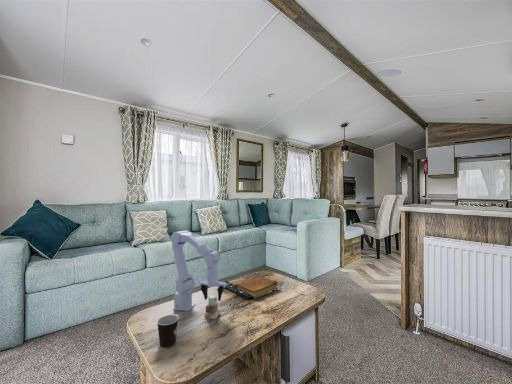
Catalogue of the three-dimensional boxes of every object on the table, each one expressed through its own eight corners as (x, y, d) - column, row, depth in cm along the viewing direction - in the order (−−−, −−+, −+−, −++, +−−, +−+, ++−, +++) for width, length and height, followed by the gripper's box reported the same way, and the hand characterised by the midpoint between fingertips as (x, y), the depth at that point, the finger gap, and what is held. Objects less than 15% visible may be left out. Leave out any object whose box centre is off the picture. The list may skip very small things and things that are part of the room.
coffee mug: (165, 351, 97) (165, 327, 97) (152, 345, 102) (152, 321, 102) (187, 337, 107) (187, 315, 107) (174, 332, 112) (175, 310, 112)
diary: (258, 283, 176) (258, 275, 176) (278, 290, 163) (278, 281, 163) (235, 292, 160) (235, 283, 160) (254, 300, 146) (254, 291, 147)
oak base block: (204, 318, 125) (204, 312, 125) (209, 313, 131) (209, 307, 131) (215, 319, 123) (215, 313, 124) (219, 314, 129) (219, 308, 129)
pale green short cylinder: (207, 306, 126) (207, 298, 126) (210, 302, 130) (210, 295, 130) (214, 307, 124) (214, 299, 125) (218, 303, 129) (218, 296, 129)
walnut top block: (205, 312, 125) (205, 306, 125) (209, 308, 130) (209, 302, 130) (214, 313, 124) (214, 307, 124) (217, 308, 129) (217, 303, 129)
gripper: (196, 275, 125) (196, 301, 125) (223, 277, 122) (223, 303, 122) (202, 271, 132) (202, 296, 132) (227, 273, 129) (227, 298, 129)
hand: (212, 299), depth 127 cm, fingers open, 7 cm apart
